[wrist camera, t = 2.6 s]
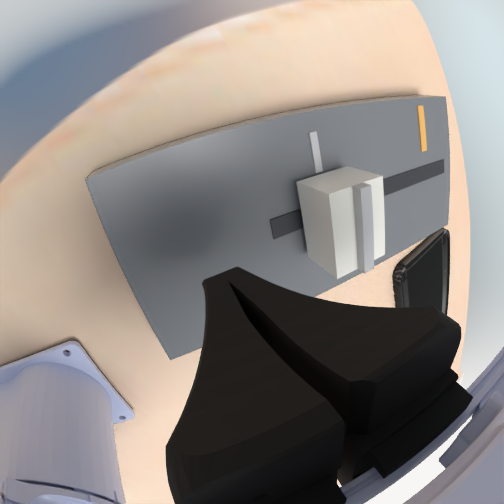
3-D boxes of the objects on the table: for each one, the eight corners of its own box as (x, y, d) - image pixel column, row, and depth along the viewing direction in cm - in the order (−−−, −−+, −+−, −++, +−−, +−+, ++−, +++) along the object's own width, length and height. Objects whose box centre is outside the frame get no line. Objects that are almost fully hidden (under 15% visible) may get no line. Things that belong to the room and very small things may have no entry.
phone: (449, 225, 23) (446, 323, 31) (440, 221, 24) (440, 318, 32) (396, 273, 22) (404, 365, 30) (387, 268, 23) (398, 359, 31)
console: (163, 332, 17) (170, 361, 15) (92, 171, 12) (84, 179, 10) (425, 214, 22) (448, 224, 20) (419, 95, 18) (446, 96, 15)
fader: (308, 256, 15) (343, 284, 13) (296, 181, 13) (336, 197, 11) (353, 236, 16) (391, 258, 13) (347, 166, 14) (390, 178, 12)
